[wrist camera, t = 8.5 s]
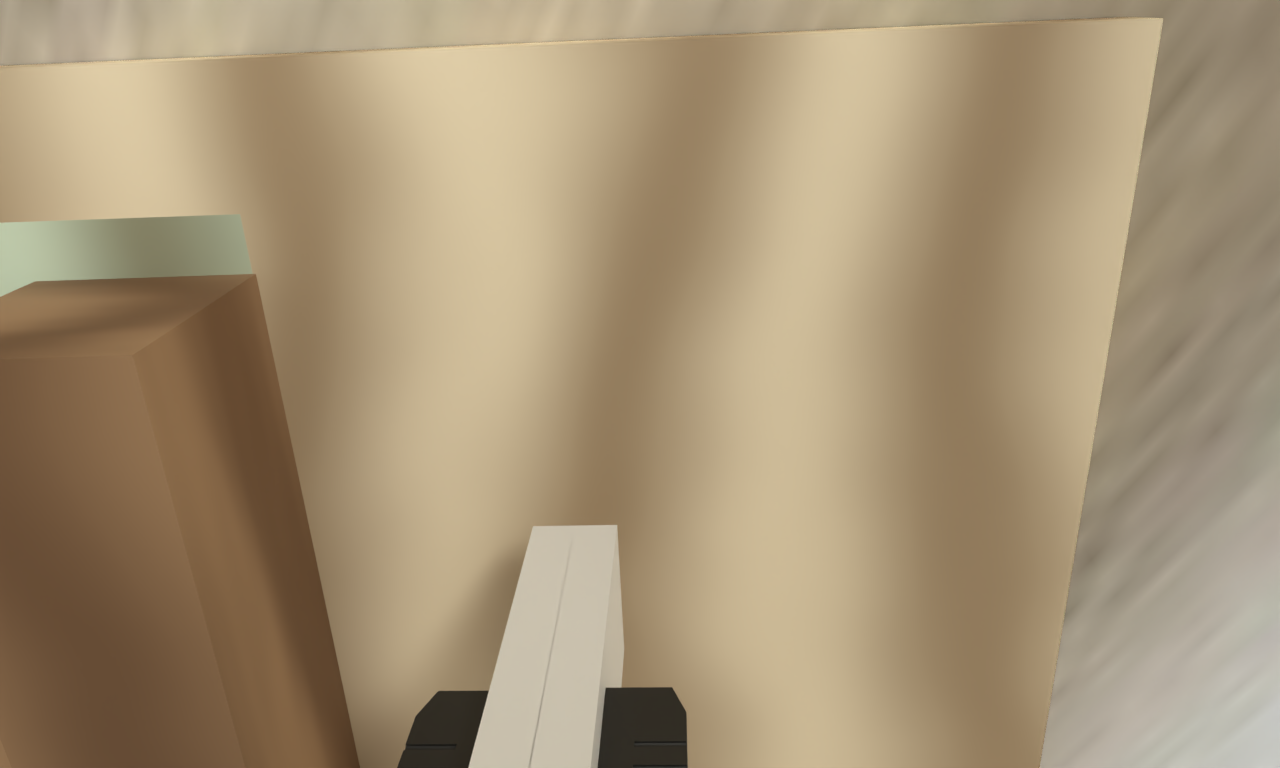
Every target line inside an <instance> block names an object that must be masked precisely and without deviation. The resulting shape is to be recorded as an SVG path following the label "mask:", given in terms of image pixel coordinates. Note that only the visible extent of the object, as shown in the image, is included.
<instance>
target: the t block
mask: <svg viewBox="0 0 1280 768" xmlns="http://www.w3.org/2000/svg"><path fill="white" fill-rule="evenodd" d="M0 768H360V765H359V760H358V755H357V751H356V746H355V741H354V736H353V732H352V727H351V722H350V718H349V713H348V708H347V703H346V699H345V694H344V689H343V684H342V680H341V675H340V670H339V665H338V661H337V656H336V651H335V646H334V642H333V637H332V632H331V627H330V623H329V618H328V613H327V609H326V604H325V599H324V594H323V590H322V585H321V580H320V575H319V571H318V566H317V561H316V556H315V552H314V547H313V542H312V537H311V533H310V528H309V523H308V518H307V514H306V509H305V504H304V499H303V495H302V490H301V485H300V481H299V476H298V471H297V466H296V462H295V457H294V452H293V447H292V443H291V438H290V433H289V428H288V424H287V419H286V414H285V409H284V405H283V400H282V395H281V390H280V386H279V381H278V376H277V372H276V367H275V362H274V357H273V353H272V348H271V343H270V338H269V334H268V329H267V324H266V319H265V315H264V310H263V305H262V300H261V296H260V291H259V286H258V281H257V277H256V274H236V275H207V276H177V277H148V278H118V279H89V280H59V281H35V282H32V283H30V284H28V285H26V286H23V287H21V288H19V289H17V290H14V291H12V292H10V293H8V294H5V295H3V296H1V297H0Z"/></svg>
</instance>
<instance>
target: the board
mask: <svg viewBox="0 0 1280 768" xmlns="http://www.w3.org/2000/svg"><path fill="white" fill-rule="evenodd" d="M1162 24H1163V18H1141V17H1116V18H1093V19H1070V20H1047V21H1024V22H1001V23H978V24H955V25H932V26H908V27H885V28H862V29H839V30H816V31H793V32H770V33H747V34H724V35H701V36H678V37H654V38H631V39H608V40H585V41H562V42H539V43H516V44H493V45H470V46H447V47H424V48H400V49H377V50H354V51H331V52H308V53H285V54H262V55H239V56H216V57H193V58H169V59H146V60H123V61H100V62H77V63H54V64H31V65H8V66H0V297H1V296H3V295H5V294H8V293H10V292H12V291H14V290H17V289H19V288H21V287H23V286H26V285H28V284H30V283H32V282H35V281H59V280H89V279H118V278H148V277H177V276H207V275H236V274H256V277H257V281H258V286H259V291H260V296H261V300H262V305H263V310H264V315H265V319H266V324H267V329H268V334H269V338H270V343H271V348H272V353H273V357H274V362H275V367H276V372H277V376H278V381H279V386H280V390H281V395H282V400H283V405H284V409H285V414H286V419H287V424H288V428H289V433H290V438H291V443H292V447H293V452H294V457H295V462H296V466H297V471H298V476H299V481H300V485H301V490H302V495H303V499H304V504H305V509H306V514H307V518H308V523H309V528H310V533H311V537H312V542H313V547H314V552H315V556H316V561H317V566H318V571H319V575H320V580H321V585H322V590H323V594H324V599H325V604H326V609H327V613H328V618H329V623H330V627H331V632H332V637H333V642H334V646H335V651H336V656H337V661H338V665H339V670H340V675H341V680H342V684H343V689H344V694H345V699H346V703H347V708H348V713H349V718H350V722H351V727H352V732H353V736H354V741H355V746H356V751H357V755H358V760H359V765H360V768H397V767H398V764H399V761H400V758H401V755H402V753H403V750H405V747H406V745H405V744H406V742H407V739H408V736H409V733H410V730H411V728H412V725H413V722H414V719H415V717H416V715H417V714H418V713H419V712H420V711H421V709H422V708H423V707H424V706H425V705H426V704H427V703H428V702H429V701H430V700H431V698H432V697H433V696H434V695H435V694H436V693H437V692H438V691H489V689H490V685H491V681H492V678H493V674H494V670H495V666H496V663H497V659H498V655H499V651H500V648H501V644H502V640H503V636H504V633H505V629H506V625H507V621H508V618H509V614H510V610H511V607H512V603H513V599H514V595H515V592H516V588H517V584H518V580H519V577H520V573H521V569H522V565H523V562H524V558H525V554H526V550H527V547H528V543H529V539H530V536H531V532H532V528H533V526H576V525H617V531H618V548H619V566H620V583H621V601H622V618H623V636H624V659H623V672H622V685H621V688H623V687H672V688H673V690H674V691H675V693H676V695H677V697H678V698H679V700H680V702H681V704H682V705H683V707H684V709H685V711H686V713H687V752H688V768H1039V767H1040V761H1041V755H1042V749H1043V743H1044V736H1045V730H1046V724H1047V718H1048V712H1049V706H1050V700H1051V694H1052V688H1053V682H1054V676H1055V670H1056V664H1057V658H1058V652H1059V646H1060V640H1061V634H1062V628H1063V622H1064V616H1065V610H1066V604H1067V598H1068V592H1069V586H1070V580H1071V574H1072V568H1073V561H1074V555H1075V549H1076V543H1077V537H1078V531H1079V525H1080V519H1081V513H1082V507H1083V501H1084V495H1085V489H1086V483H1087V477H1088V471H1089V465H1090V459H1091V453H1092V447H1093V441H1094V435H1095V429H1096V423H1097V417H1098V411H1099V405H1100V399H1101V393H1102V386H1103V380H1104V374H1105V368H1106V362H1107V356H1108V350H1109V344H1110V338H1111V332H1112V326H1113V320H1114V314H1115V308H1116V302H1117V296H1118V290H1119V284H1120V278H1121V272H1122V266H1123V260H1124V254H1125V248H1126V242H1127V236H1128V230H1129V224H1130V218H1131V212H1132V205H1133V199H1134V193H1135V187H1136V181H1137V175H1138V169H1139V163H1140V157H1141V151H1142V145H1143V139H1144V133H1145V127H1146V121H1147V115H1148V109H1149V103H1150V97H1151V91H1152V85H1153V79H1154V73H1155V67H1156V61H1157V55H1158V49H1159V43H1160V37H1161V30H1162Z"/></svg>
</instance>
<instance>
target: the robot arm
mask: <svg viewBox="0 0 1280 768" xmlns="http://www.w3.org/2000/svg"><path fill="white" fill-rule="evenodd" d="M623 659H624V636H623V618H622V601H621V583H620V566H619V548H618V531H617V525H576V526H533V528H532V532H531V536H530V539H529V543H528V547H527V550H526V554H525V558H524V562H523V565H522V569H521V573H520V577H519V580H518V584H517V588H516V592H515V595H514V599H513V603H512V607H511V610H510V614H509V618H508V621H507V625H506V629H505V633H504V636H503V640H502V644H501V648H500V651H499V655H498V659H497V663H496V666H495V670H494V674H493V678H492V681H491V685H490V689H489V691H438V692H437V693H436V694H435V695H434V696H433V697H432V698H431V700H430V701H429V702H428V703H427V704H426V705H425V706H424V707H423V708H422V709H421V711H420V712H419V713H418V714H417V715H416V717H415V719H414V722H413V725H412V728H411V730H410V733H409V736H408V739H407V742H406V744H405V745H406V747H405V750H403V753H402V755H401V758H400V761H399V764H398V767H397V768H688V752H687V713H686V711H685V709H684V707H683V705H682V704H681V702H680V700H679V698H678V697H677V695H676V693H675V691H674V690H673V688H672V687H623V688H621V685H622V672H623Z"/></svg>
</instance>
